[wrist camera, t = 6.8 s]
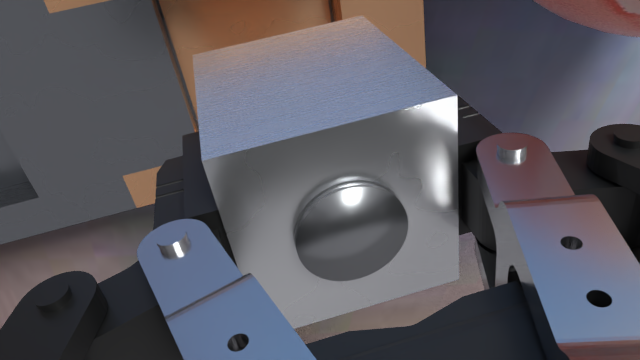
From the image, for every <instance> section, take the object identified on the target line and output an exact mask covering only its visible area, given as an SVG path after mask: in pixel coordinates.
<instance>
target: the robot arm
mask: <svg viewBox="0 0 640 360" xmlns="http://www.w3.org/2000/svg"><path fill="white" fill-rule="evenodd" d="M457 104H458V215H459V235H461V234H465V233H468V232H472V233H473V234H474V235H475V255H476V259H477V263H478V266H479V270H480V274H481V278H482V282H483V286H484V291H480V292H477V293H474V294H470V295H467V296H464V297H462V298H460V299H458V300H456V301H455V302H453V303H451V304H450V305H448V306H446V307H444V308H443V309H441V310H439V311H438V312H436V313H434V314H432V315H431V316H429V317H427V318H426V319H424V320H422V321H420V322H419V323H417V324H415V325H412V326H407V327H396V328H384V329H372V330H360V331H348V332H345V333H342V334H339V335H335V336H332V337H329V338H325V339H322V340H319V341H315V342H312V343H309V344H306V345H305V344H304V342H303V341H302V340H301V338H300V337H299V336H298V334H297V333H296V332H295V330H294V329H293V328H292V326H291V325H290V324H289V322H288V321H287V319H286V318H285V317H284V315H283V314H282V313H281V311H280V310H279V309H278V307H277V306H276V305H275V303H274V302H273V301H272V299H271V298H270V297H269V295H268V294H267V293H266V291H265V290H264V289H263V287H262V286H261V285H260V283H259V282H258V281H257V279H256V278H255V277H254V276H253V275H252V274H251V273H248V274H246V275H244V276H243V275H242V273H241V272H240V271H239V269H238V267H237V264H236V261H235V258H234V255H233V252H232V249H231V246H230V243H229V240H228V237H227V234H226V231H225V228H224V225H223V222H222V219H221V216H220V213H219V211H218V208H217V205H216V202H215V199H214V196H213V193H212V190H211V187H210V184H209V181H208V178H207V175H206V172H205V169H204V166H203V163H202V159H201V147H200V136H199V131H198V132H194V133H190V134H186V135H183V136H182V145H183V156H180V157H176V158H172V159H168V160H166V161H165V162H164V164H163V165H162V166H161V168H160V169H159V171H158V172H157V177H156V194H155V197H156V199H155V212H154V229H153V231H151V232H150V233H149V234H148V235H147V236H146V237H145V238H144V239H143V240H142V241H141V243H140V245H139V247H138V250H137V257H138V261H137V262H136V263H135V264H133V265H132V266H131V267H129V268H128V269H126V270H124V271H122V272H120V273H118V274H116V275H114V276H112V277H110V278H108V279H106V280H104V281H102V282H100V283H98V284H97V282H96V280H95V278H94V277H93V276H92V275H90V274H89V273H86V272H82V271H71V272H66V273H62V274H59V275H56V276H53V277H51V278H49V279H47V280H45V281H43V282H42V283H40V284H38V285H37V286H36V287H34V288H33V289H32V290H30V291H29V292H28V293H27V294H26V295H25V296H24V297H23V298H22V299H21V301H20V302H19V303H18V305H17V306H16V308H15V309H14V311H13V312H12V314H11V315H10V316H9V318H8V319H7V321H6V322H5V324H4V325H3V327H2V328H1V329H0V360H640V125H633V124H614V125H608V126H604V127H601V128H599V129H597V130H595V131H594V132H593V133H592V134H591V136H590V141H589V148H588V150H578V151H563V152H550V150H549V148H548V146H547V145H546V144H545V143H544V142H543V141H542V140H540V139H538V138H536V137H534V136H531V135H527V134H522V133H502V132H501V131H500V130H498V129H497V128H496V127H495V126H494V125H492V124H491V123H490V122H489V121H488V120H486V119H485V118H484V117H483V116H482V115H481V114H479V115H478V112H477V111H476V110H475V109H473V108H472V107H469V104H467V103H466V102H465V101H464V100H463V99H462V98H460V97H459V96H457Z"/></svg>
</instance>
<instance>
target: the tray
mask: <svg viewBox="0 0 640 360" xmlns="http://www.w3.org/2000/svg"><path fill="white" fill-rule="evenodd" d="M361 15H363V16H364V17H365V18H366V19H367V20H368V21H370V22H371V23H372V24H373V25H374V26H376V27H377V28H378V29H379V30H380V31H382V32H383V33H384V34H385V35H386V36H388V37H389V38H390V39H391V40H392V41H394V42H395V43H396V44H397V45H398V46H400V47H401V48H402V49H403V50H404V51H405V52H407V53H408V54H409V55H410V56H411V57H413V58H414V59H415V60H416V61H417V62H419V63H420V64H421V65H422V66H423V67H425V68H426V55H425V30H424V6H423V0H0V244H4V243H8V242H11V241H15V240H19V239H23V238H26V237H30V236H34V235H38V234H41V233H45V232H49V231H53V230H56V229H60V228H64V227H68V226H71V225H75V224H79V223H83V222H86V221H90V220H94V219H98V218H101V217H105V216H109V215H113V214H116V213H120V212H124V211H128V210H131V209H135V208H139V207H143V206H146V205H150V204H154V203H155V199H156V197H155V194H156V177H157V172H158V171H159V169H160V168H161V166H162V165H163V164H164V162H165V161H166V160H168V159H172V158H176V157H180V156H183V145H182V136H183V135H186V134H190V133H194V132H198V131H199V124H198V113H197V102H196V90H195V79H194V67H193V56H192V55H195V54H199V53H203V52H208V51H212V50H216V49H221V48H225V47H229V46H233V45H238V44H242V43H246V42H250V41H255V40H259V39H263V38H268V37H272V36H276V35H280V34H285V33H289V32H293V31H297V30H302V29H306V28H310V27H314V26H319V25H323V24H327V23H332V22H336V21H340V20H344V19H349V18H353V17H357V16H361Z"/></svg>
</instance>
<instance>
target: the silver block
mask: <svg viewBox="0 0 640 360" xmlns="http://www.w3.org/2000/svg"><path fill="white" fill-rule="evenodd" d="M192 56H193V67H194V79H195V90H196V102H197V113H198V124H199V136H200V147H201V159H202V163H203V166H204V169H205V172H206V175H207V178H208V181H209V184H210V187H211V190H212V193H213V196H214V199H215V202H216V205H217V208H218V211H219V213H220V216H221V219H222V222H223V225H224V228H225V231H226V234H227V237H228V240H229V243H230V246H231V249H232V252H233V255H234V258H235V261H236V264H237V267H238V269H239V271H240V272H241V273H242V275H243V276H244V275H246V274H248V273H251V274H252V275H253V276H254V277H255V278H256V279H257V281H258V282H259V283H260V285H261V286H262V287H263V289H264V290H265V291H266V293H267V294H268V295H269V297H270V298H271V299H272V301H273V302H274V303H275V305H276V306H277V307H278V309H279V310H280V311H281V313H282V314H283V315H284V317H285V318H286V319H287V321H288V322H289V324H290V325H291V326H292V328H293V329H295V328H298V327H302V326H305V325H308V324H312V323H315V322H318V321H322V320H325V319H328V318H332V317H335V316H338V315H342V314H345V313H348V312H352V311H355V310H359V309H362V308H365V307H369V306H372V305H375V304H379V303H382V302H385V301H389V300H392V299H395V298H399V297H402V296H405V295H409V294H412V293H415V292H419V291H422V290H425V289H429V288H432V287H435V286H439V285H442V284H445V283H449V282H452V281H455V280H459V215H458V104H457V94H456V93H454V92H453V91H452V90H451V89H450V88H448V87H447V86H446V85H445V84H444V83H442V82H441V81H440V80H439V79H438V78H437V77H435V76H434V75H433V74H432V73H431V72H429V71H428V70H427V69H426V68H425V67H423V66H422V65H421V64H420V63H419V62H417V61H416V60H415V59H414V58H413V57H411V56H410V55H409V54H408V53H407V52H405V51H404V50H403V49H402V48H401V47H400V46H398V45H397V44H396V43H395V42H394V41H392V40H391V39H390V38H389V37H388V36H386V35H385V34H384V33H383V32H382V31H380V30H379V29H378V28H377V27H376V26H374V25H373V24H372V23H371V22H370V21H368V20H367V19H366V18H365V17H364V16H363V15H361V16H357V17H353V18H349V19H344V20H340V21H336V22H332V23H327V24H323V25H319V26H314V27H310V28H306V29H302V30H297V31H293V32H289V33H285V34H280V35H276V36H272V37H268V38H263V39H259V40H255V41H250V42H246V43H242V44H238V45H233V46H229V47H225V48H221V49H216V50H212V51H208V52H203V53H199V54H195V55H192Z"/></svg>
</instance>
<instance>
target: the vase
mask: <svg viewBox="0 0 640 360" xmlns="http://www.w3.org/2000/svg"><path fill="white" fill-rule="evenodd" d="M533 1H534V2H536V3H538V4H539V5H541V6H542V7H544V8H546V9H547V10H549V11H551V12H552V13H554V14H556V15H558V16H560V17H562V18H564V19H566V20H569V21H572V22H575V23H578V24H581V25H584V26H586V27H589V28H593V29H596V30H599V31H602V32H606V33H611V34H618V35H624V36H632V37H640V0H533Z"/></svg>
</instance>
